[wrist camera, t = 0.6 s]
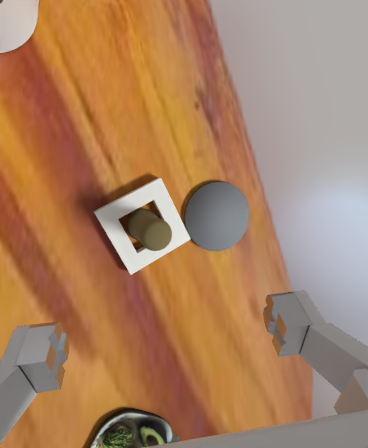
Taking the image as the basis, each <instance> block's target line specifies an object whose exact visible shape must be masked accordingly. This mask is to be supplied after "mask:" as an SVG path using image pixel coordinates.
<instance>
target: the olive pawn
mask: <svg viewBox="0 0 368 448" xmlns="http://www.w3.org/2000/svg"><path fill="white" fill-rule="evenodd" d="M127 229H128V232H129V234H130V235H131V236H132V237H133V238H135V239H136V240H139V241H140V242H141V244H142V245H143V246H144V247H145V248H147V249H148V250H151V251H160V250H162V249H164V248H166V247H167V246H168V245H169V243H170V242H171V238H172V230H171V228H170V225H169V224H168V223H167V222H166V221H164V220H163V219H160V218H158V217H157V216H156V215H155V213H154V212H152V211H150V210H147V209H139V210H137V211H135V212H134V213H132V214H131V216H130V217H129V219H128V222H127Z"/></svg>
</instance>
